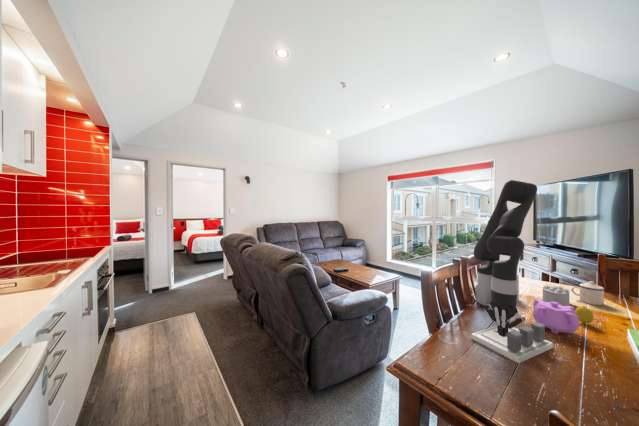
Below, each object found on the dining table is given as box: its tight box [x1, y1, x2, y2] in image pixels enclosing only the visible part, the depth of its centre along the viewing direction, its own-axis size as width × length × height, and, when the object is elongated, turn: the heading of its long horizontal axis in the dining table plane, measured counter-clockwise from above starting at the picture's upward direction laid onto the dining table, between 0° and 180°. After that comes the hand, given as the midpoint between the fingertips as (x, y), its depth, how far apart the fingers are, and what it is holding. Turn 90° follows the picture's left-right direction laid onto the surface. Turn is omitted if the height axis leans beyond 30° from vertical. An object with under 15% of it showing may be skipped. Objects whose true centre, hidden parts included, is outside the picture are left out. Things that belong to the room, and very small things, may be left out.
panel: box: [470, 325, 554, 364], centre depth 88 cm, size 16×22×2 cm
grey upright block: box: [506, 331, 522, 353], centre depth 80 cm, size 3×4×6 cm
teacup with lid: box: [571, 280, 606, 306], centre depth 127 cm, size 12×9×12 cm
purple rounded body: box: [532, 299, 581, 335], centre depth 98 cm, size 18×17×12 cm
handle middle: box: [518, 325, 534, 347], centre depth 83 cm, size 3×4×6 cm
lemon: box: [575, 305, 594, 325], centre depth 102 cm, size 6×6×8 cm
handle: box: [530, 321, 547, 342], centre depth 86 cm, size 3×4×6 cm
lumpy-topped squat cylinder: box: [542, 284, 570, 306], centre depth 126 cm, size 10×13×9 cm
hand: (502, 335), depth 83 cm, fingers closed
